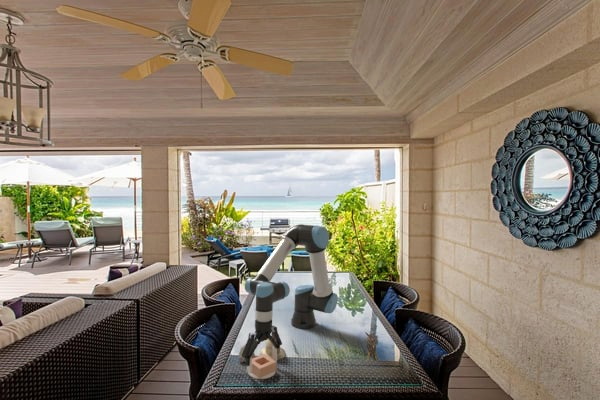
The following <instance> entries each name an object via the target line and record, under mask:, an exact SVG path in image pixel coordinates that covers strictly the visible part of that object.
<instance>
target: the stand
mask: <svg viewBox="0 0 600 400" xmlns="http://www.w3.org/2000/svg"><path fill="white" fill-rule="evenodd" d="M270 335H271V336H272V337H273V339H274V340H275V337H274V335H273V333H272V332H271V334H270ZM275 341H276V340H275ZM276 343H277V342H276ZM273 346H274V345H273V344H272V343H271V342H270V341H269V339H267V340H265V347H264V348H262V349H261V350H260V354H259V356H260V355H263V354H265V355H267V356H268V357H270V358H271V359H272V347H273ZM285 356H286V350H285V349H284V348H282V347H280V348H278V354H277V361H279V360H282V359H284V357H285Z"/></svg>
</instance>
